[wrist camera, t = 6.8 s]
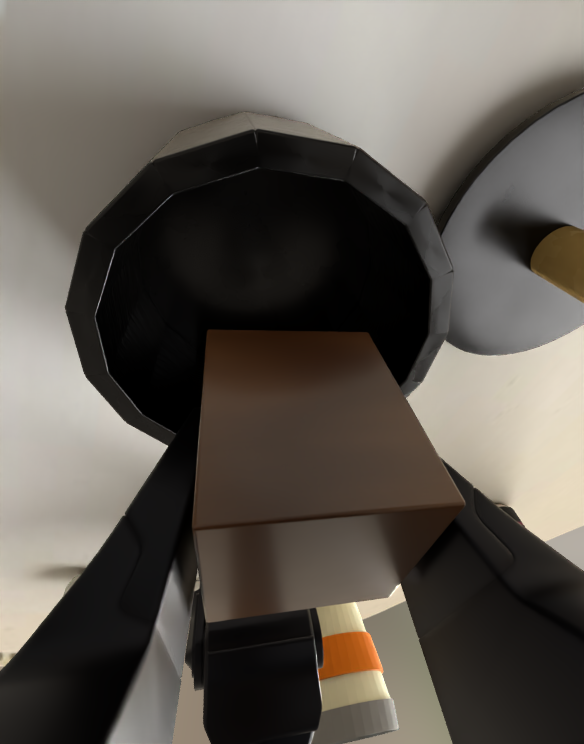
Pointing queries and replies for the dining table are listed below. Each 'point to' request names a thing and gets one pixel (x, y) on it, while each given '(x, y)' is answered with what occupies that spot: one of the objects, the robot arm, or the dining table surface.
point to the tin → (252, 262)
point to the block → (309, 475)
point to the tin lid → (520, 237)
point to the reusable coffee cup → (351, 680)
